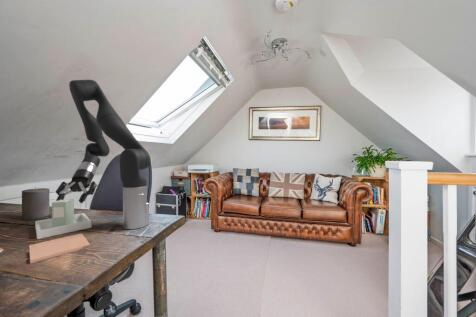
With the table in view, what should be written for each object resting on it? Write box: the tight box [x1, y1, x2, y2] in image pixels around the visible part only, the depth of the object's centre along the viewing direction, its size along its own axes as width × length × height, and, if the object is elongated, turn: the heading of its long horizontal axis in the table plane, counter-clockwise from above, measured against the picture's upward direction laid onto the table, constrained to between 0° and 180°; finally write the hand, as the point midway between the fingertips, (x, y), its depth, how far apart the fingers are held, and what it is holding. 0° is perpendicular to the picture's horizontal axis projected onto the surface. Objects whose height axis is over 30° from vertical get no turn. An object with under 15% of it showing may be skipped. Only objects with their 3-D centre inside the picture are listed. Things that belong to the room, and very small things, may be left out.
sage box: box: [51, 198, 75, 228], centre depth 83 cm, size 5×5×11 cm
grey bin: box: [34, 212, 92, 240], centre depth 83 cm, size 16×16×4 cm
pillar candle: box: [21, 186, 50, 222], centre depth 99 cm, size 10×10×15 cm
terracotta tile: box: [28, 232, 91, 264], centre depth 67 cm, size 14×14×1 cm
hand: (69, 202), depth 87 cm, fingers open, 8 cm apart
